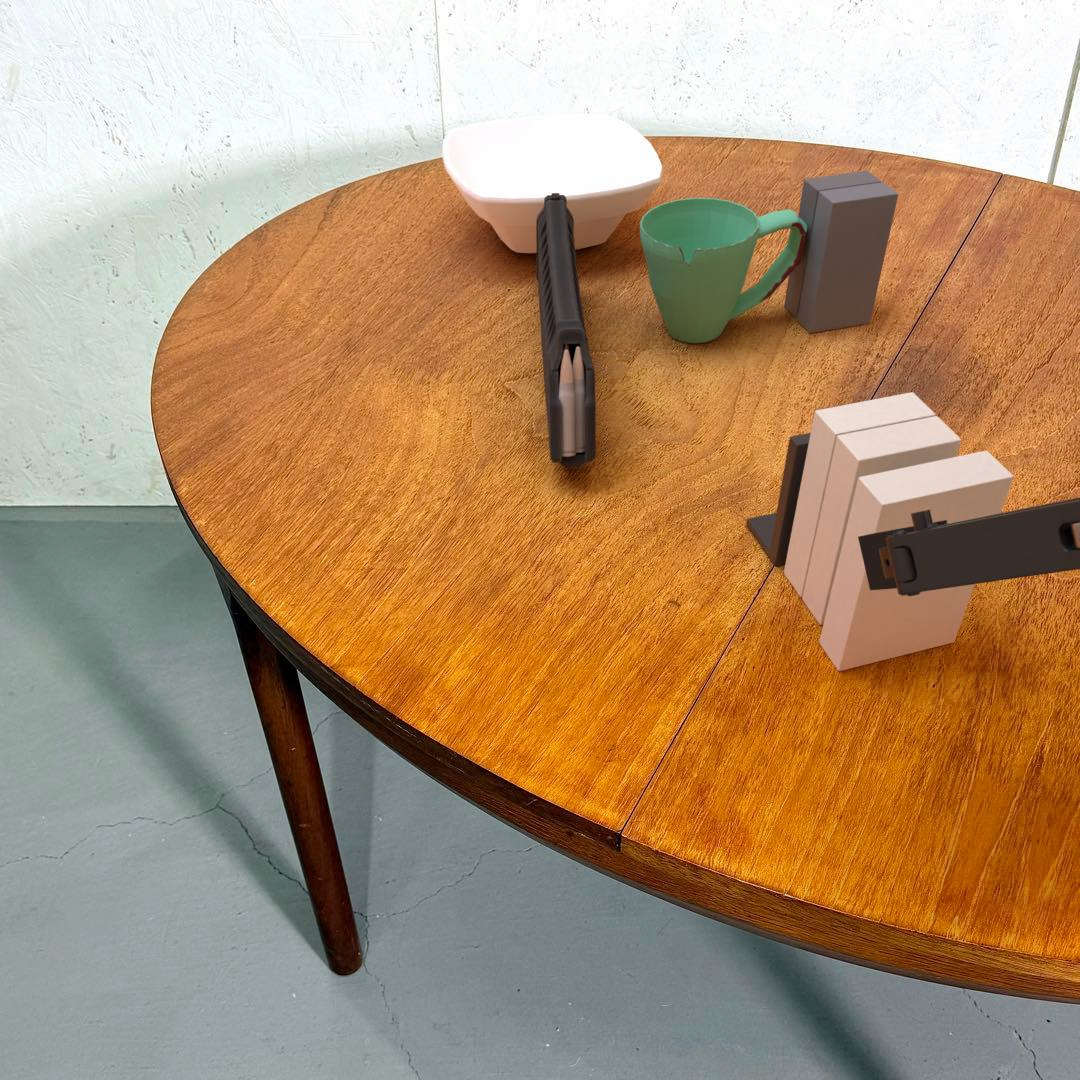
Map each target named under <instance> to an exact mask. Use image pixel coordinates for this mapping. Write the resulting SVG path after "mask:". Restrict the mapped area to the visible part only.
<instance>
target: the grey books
mask: <svg viewBox="0 0 1080 1080" xmlns="http://www.w3.org/2000/svg"><path fill="white" fill-rule="evenodd" d="M898 198H899V193H898V192H897V191H896V190H895V189H893V188H891V187H890V186H889V185H887V184H886V183H885V182H883V181H882V180H881V179H880V178H878V177H877V176H876V175H874V174H873V173H871V172H870V171H869V170H861V171H854V172H852V171H851V172H846V173H839V174H838V173H837V174H831V175H825V176H824V175H823V176H815V177H810V178H804V179H803V183H802V190H801V196H800V202H799V209H798V214H797V215H798V216H799V217H800V218H801V219H802V220H803V221H804V222H805V223H806V224H807V233H806V237H805V242H804V247H803V252H802V257H801V262H800V263H799V264H798V266H797V267H796V268H795V269H794V270H793V271H792V272H791V273H790V275H789V276H788V277H787V284H786V291H785V297H784V305H783V307H784V309H785V310H787V311H788V313H790V314H791V316H792V317H793V318H794V319H796V321H797V322H798V323H799V324H800V325H801V326H802V327H803V329H805V330H806V331H807V332H808V334H813V333H814V334H815V333H820V332H825V331H832V330H838V329H844V328H849V327H854V326H855V327H856V326H861V325H867V324H871V321H872V316H873V312H874V307H875V302H876V297H877V294H878V289H879V285H880V279H881V275H882V271H883V266H884V261H885V257H886V254H887V253H886V252H887V248H888V243H889V240H890V234H891V229H892V225H893V221H894V215H895V212H896V207H897V204H898Z"/></svg>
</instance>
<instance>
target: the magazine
mask: <svg viewBox="0 0 1080 1080" xmlns="http://www.w3.org/2000/svg"><path fill="white" fill-rule="evenodd" d="M573 230H574V219H573V215H572V213H571V212H570V211H569V209H568V208H567V199H566V197H565V196H564V195H559V193H551V195H547V196H546V197H545V198H544V207H543V209H542V210H541V212H540V213H539V214H538V216H537V219H536V246H537V253H536V280H537V287H538V288H537V289H538V306H539V307H538V308H539V324H540V325H539V326H540V340H541V354H542V355H541V356H542V368H543V369H542V370H543V385H544V397H545V409H546V421H547V430H548V449H549V457H550V460H551V461H552V463H553V464H557V463H558V464H560V465H562V466H563V467H564V468H565V469H572V468H575V469H576V468H581V467H583V465H585V464H586V463H592V462H593V461H594V460H595V458H596V428H597V427H596V425H597V424H596V421H597V419H596V417H597V416H596V412H597V411H596V409H597V408H596V407H597V406H596V372H595V367H594V363H593V360H592V359H593V358H592V356H591V353H590V347H589V342H588V336H587V330H586V326H585V325H586V324H585V318H584V310H583V305H582V298H581V290H580V289H581V287H580V283H579V273H578V263H577V253H576V250H575V244H574V241H575V240H574V232H573Z"/></svg>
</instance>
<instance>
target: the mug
mask: <svg viewBox="0 0 1080 1080" xmlns="http://www.w3.org/2000/svg"><path fill="white" fill-rule="evenodd" d="M789 229H790V232H789V235H788V239H787V243H786V246H785V247H784V249H782V251H781V253H780V254H779V255H778V257H777V258H776V259H775V261H774V262H773V263H772V264H771V266H770V267H769V268H768V269H767V271H766V272H765V273H764V275H763V276H762V277H761V278H760V279H759V281H758V282H757V283H756V284H754V285H753V286H751V287H749V288H748V289H746V290H744V291H743V288H744V285H745V282H746V279H747V275H748V271H749V268H750V265H751V262H752V258H753V255H754V253H755V249H756V246H757V243H758V240H759V239H762V238H764V237H766V236H769V235H771V234H774V233H776V232H779V231H782V230H789ZM806 233H807V224H806V223H805V222H804V221H803V220H802V219H801V218H800V217H799V216H798V214H797V213H796V212H795V211H794V210H792V209H791V208H788V209H782V210H776V211H770V212H768V213H765V214H763V215H761V216H757V214H756V213H755V212H754V211H753V210H751V209H750V208H748V207H747V206H745V205H743V204H740V203H737V202H735V201H731V200H726V199H721V198H715V197H714V198H713V197H690V198H689V197H688V198H681V199H680V198H679V199H675V200H671V201H667V202H663V203H661V204H659V205H657V206H655V207H653V208H650V209H649V210H648V211H647V212H646V213H645V214H644V215H643V216H642V217H641V220H640V222H639V239H640V243H641V247H642V250H643V255H644V258H645V262H646V267H647V273H648V280H649V284H650V286H651V290H652V293H653V296H654V299H655V302H656V305H657V308H658V311H659V313H660V316H661V319H662V320H663V322H664V325H665V327H666V330H667V332H668V335H670V336H671V337H672V338H673V339H675V340H677V341H679V342H682V343H683V342H684V343H688V344H701V343H708V342H711V341H714V340H715V339H718V338H719V337H720V336H721V334H722V333H723V331H724V329H725V327H726V326H727V324H728V323H729V322H732V321H733V320H734V319H736V318H738V317H739V316H741V315H744V314H745V313H747V312H748V311H750V310H751V309H753V308H755V307H757V306H758V305H760V304H761V303H764V302H765V301H766V300H768V299H769V298H770V297H772V295H773V294H774V293H775V292H776V290H778V288H779V287H780V286H781V285H782V284H783V283H784V282H785V281H786V279H788V278H789V275H790V273H791V272H792V271H793V270H794V269H795V268H796V267H797V266H798V264H799V263H800V262H801V257H802V252H803V247H804V242H805V237H806ZM742 291H743V292H742Z"/></svg>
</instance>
